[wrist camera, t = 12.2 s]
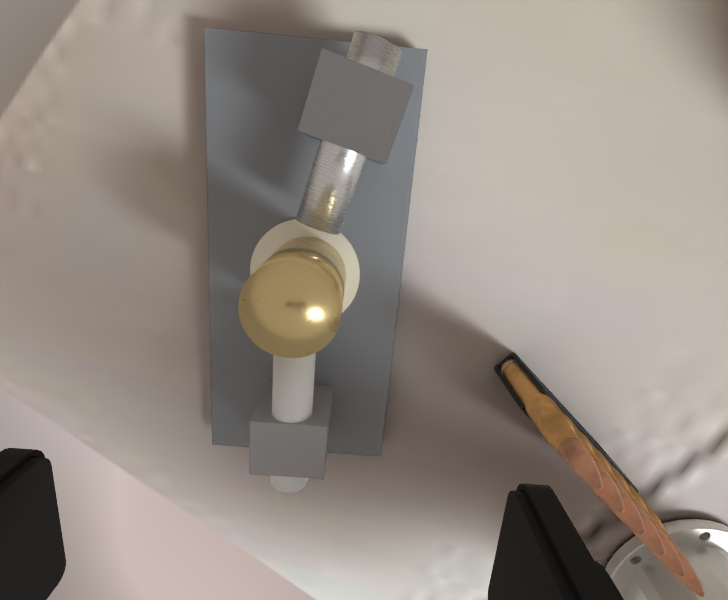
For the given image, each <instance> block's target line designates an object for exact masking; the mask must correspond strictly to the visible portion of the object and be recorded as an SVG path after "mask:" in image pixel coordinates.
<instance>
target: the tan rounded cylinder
mask: <svg viewBox="0 0 728 600" xmlns="http://www.w3.org/2000/svg"><path fill="white" fill-rule="evenodd" d="M345 284H346V268H345V264H344V262H343V259H342V257H341V256H340V254H339V253H338V251H337V250H336V249H335V248H334V247H333V246H332V245H330V244H329V243H327V242H326V241H324V240H321V239H319V238H315V237H298V238H294V239H291V240H289V241H287V242H285V243H284V244H283V245H281V246H280V247H279V248H278V249H277V250H276V251H275V252H274V253H273V254H272V255H271V256H270V257H269V258H268V259H267V260H266V261H265V262H264V263H263V264H262V265H261V266H260V267H259V268H258V269H257V270H256V271H255V272H254V273H253V274H252V275H251V276H250V277H249V278H248V280H247V281H246V282H245V284H244V286H243V288H242V290H241V293H240V296H239V301H238V313H239V318H240V322H241V324H242V327H243V329H244V331H245V332H246V334H247V335H248V337H249V338H250V339H251V340H252V341H253V342H254V343H255V344H256V345H257V346H258V347H260V348H261V349H262V350H264V351H266V352H268V353H270V354H272V355H275V356H279V357H283V358H302V357H306V356H309V355H312V354H314V353H316V352H318V351H320V350H321V349H323V348H324V347H325V346H326V345H327V344H329V342H330V341H331V340H332V339H333V337H334V336H335V334H336V333H337V330H338V328H339V325H340V321H341V315H342V307H343V299H344V291H345Z"/></svg>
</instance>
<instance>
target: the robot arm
mask: <svg viewBox="0 0 728 600" xmlns="http://www.w3.org/2000/svg"><path fill="white" fill-rule="evenodd" d="M662 525H663V526H664V528H665V530H666V531H667V533H668V534H669V535H670V537H671V538H672V539H673V540H674V543H675V544H676V545H677V546H678V548H679V549H680V550H681V551H682V553H683V554H684V555H685V557H686V558H687V559H688V561H689V562H690V564H691V565H692V567H693V569H694V570H695V572H696V574H697V576H698V578H699V580H700V582H701V584H702V587H703V590H704V594H705V595H704V597H701V596H699V595H697V594H695V593H694V592H692V591H691V590H690V589H688V588H687V587H686V586H685V585H684V584H683V583H681V582H680V581H679V580H678V579H677V578H676V577H675V576H674V575H673V574H672V573H671V572H670V571H669V569H668V568H667V567H666V566H665V565H664V564H663V563H662V562H661V561H660V560H659V559H658V558H657V557H656V556H655V555H654V554H653V553H652V552H651V551H650V550H649V549H648V547H647V546H646V545H645V544H644V543H643V542H642V541H641V540H640V539H639V538H638V537H637V536H634V537H633V538H631V539H630V540H629V541H627V542H626V543H625V544H624V545H623V546H622V547H621V548H620V549H619V550H618V551H616V552H615V554H614V555H613V557H612V558H611V559H610V561H609V562H608V564H607V566H606V568H605V569H604V567H603V566H602V565H601V564H599V563H598V562H597V561H594V559H593V558H592V556H591V554H590V553H589V551H588V549H587V548H586V546H585V544H584V542H583V541H582V539H581V537H580V536H579V534H578V532H577V531H576V529H575V527H574V525H573V524H572V522H571V520H570V519H569V517H568V515H567V514H566V512H565V510H564V508H563V507H562V505H561V503H560V502H559V500H558V498H557V496H556V495H555V493H554V491H553V490H552V489H551V487H549V486H547V485H532V484H519V486H518V487H517V490H516V491H510V492H509V494H508V498H507V502H506V507H505V512H504V517H503V522H502V526H501V531H500V536H499V541H498V546H497V551H496V555H495V560H494V565H493V570H492V575H491V579H490V584H489V589H488V600H728V526H726V525H724V524H721V523H717V522H714V521H710V520H701V519H685V520H676V521H671V522H666V523H663V524H662ZM65 566H66V558H65V552H64V546H63V539H62V532H61V525H60V519H59V513H58V506H57V499H56V493H55V486H54V479H53V472H52V466H51V462H50V460H49V459H46V458H45V456H44V454H43V453H42V452H41V451H39V450H32V449H18V448H8V449H4V450H3V451H1V452H0V600H46V599H47V598H48V597H49V595H50V594H51V593H52V591H53V590H54V589H55V587H56V586H57V585H58V583H59V582H60V580H61V578H62V576H63V573H64V571H65Z"/></svg>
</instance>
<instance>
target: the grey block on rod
mask: <svg viewBox="0 0 728 600" xmlns="http://www.w3.org/2000/svg"><path fill="white" fill-rule="evenodd" d="M401 55H402V51H401V50H400V49H399V48H398V47H397V46H396V45H394V44H393V43H391V42H390V41H388V40H386V39H384V38H382V37H379V36H377V35H374V34H371V33H368V32H363V31H356V32H354V34H353V38H352V41H351V44H350V47H349V50H348V54H347V57H344V56H341V55H339V54H336V53H334V52H331V51H329V50H326V49H324V48H322V50H321V53H320V57H319V60H318V63H317V67H316V70H315V73H314V77H313V80H312V83H311V87H310V90H309V94H308V97H307V100H306V104H305V107H304V110H303V114H302V117H301V121H300V124H299V127H298V130H299V131H300V132H302V133H304V134H305V135H307V136H309V137H311V138H313V139H316V140H318V141H320V143H319V146H318V150H317V153H316V156H315V159H314V162H313V166H312V169H311V172H310V175H309V178H308V182H307V185H306V188H305V191H304V194H303V198H302V201H301V204H300V207H299V210H298V214H297V217H296V220H297V221H298V222H300V223H302V224H304V225H306V226H308V227H311V228H313V229H316V230H319V231H322V232H325V233H329V234H334V235H339V234H340V232H341V229H342V226H343V223H344V220H345V217H346V214H347V211H348V208H349V206H350V203H351V200H352V197H353V194H354V191H355V188H356V185H357V182H358V180H359V177H360V174H361V171H362V168H363V165H364V162H365V159H368V160H371V161H373V162H376V163H379V164H381V165H383V164H387V161H388V158H389V155H390V152H391V150H392V147H393V144H394V141H395V139H396V136H397V133H398V130H399V127H400V125H401V122H402V119H403V116H404V114H405V111H406V108H407V105H408V102H409V100H410V97H411V94H412V91H413V89H414V86H415V85H413V84H410V83H408V82H405V81H403V80H400V79H398V78H395V77H394V75H395V72H396V70H397V67H398V64H399V61H400V58H401Z"/></svg>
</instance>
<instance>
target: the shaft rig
mask: <svg viewBox="0 0 728 600" xmlns="http://www.w3.org/2000/svg"><path fill="white" fill-rule="evenodd" d="M350 44H351V42H347V41H337V40H327V39H317V38H307V37H296V36H286V35H276V34H266V33H256V32H246V31H236V30H226V29H216V28H206V27H204V50H205V100H206V150H207V200H208V250H209V301H210V351H211V401H212V444H214V445H228V446H242V447H250V474H255V475H269V476H270V484H271V486H272V487H273V488H274V489H275V490H276V491H278V492H281V493H295V492H298V491H300V490H302V489H303V488H305V487H306V485H307V483H308V479H309V478H314V479H324V472H325V463H326V455H327V452H329V453H343V454H357V455H372V456H381V449H382V441H383V432H384V423H385V414H386V406H387V397H388V388H389V380H390V371H391V362H392V354H393V345H394V336H395V327H396V319H397V310H398V301H399V293H400V284H401V275H402V267H403V258H404V249H405V241H406V232H407V223H408V214H409V206H410V197H411V188H412V180H413V171H414V162H415V154H416V145H417V136H418V128H419V119H420V110H421V101H422V93H423V84H424V75H425V67H426V58H427V49H417V48H407V47H398V48H399V49H400V50H401V51H402V55H401V58H400V61H399V64H398V67H397V70H396V72H395V75H394V77H395V78H398V79H400V80H403V81H405V82H408V83H410V84H413V85H415V86H414V89H413V91H412V94H411V97H410V100H409V102H408V105H407V108H406V111H405V114H404V116H403V119H402V122H401V125H400V127H399V130H398V133H397V136H396V139H395V141H394V144H393V147H392V150H391V152H390V155H389V158H388V161H387V164H383V165H381V164H379V163H376V162H373V161H371V160H368V159H365V162H364V165H363V168H362V171H361V174H360V177H359V180H358V182H357V185H356V188H355V191H354V194H353V197H352V200H351V203H350V206H349V208H348V211H347V214H346V217H345V220H344V223H343V226H342V229H341V232H340V234H339V235H334V234H329V233H325V232H322V231H319V230H316V229H313V228H311V227H308V226H306V225H304V224H302V223H300V222H298V221H297V220H296V217H297V214H298V210H299V207H300V204H301V201H302V198H303V194H304V191H305V188H306V185H307V182H308V178H309V175H310V172H311V169H312V166H313V162H314V159H315V156H316V153H317V150H318V146H319V143H320V141H318V140H316V139H313V138H311V137H309V136H307V135H305V134H304V133H302V132H300V131H299V130H298V127H299V124H300V121H301V117H302V114H303V110H304V107H305V104H306V100H307V97H308V94H309V90H310V87H311V83H312V80H313V77H314V73H315V70H316V67H317V63H318V60H319V57H320V53H321V50H322V48H324V49H326V50H329V51H331V52H334V53H336V54H339V55H341V56H344V57H347V54H348V50H349V47H350ZM298 237H315V238H319V239H321V240H324V241H326V242H327V243H329V244H330V245H332V246H333V247H334V248H335V249H336V250H337V251H338V253H339V254H340V256H341V257H342V259H343V262H344V264H345V268H346V284H345V291H344V299H343V307H342V315H341V321H340V325H339V328H338V330H337V333H336V334H335V336H334V337H333V339H332V340H331V341H330V342H329V344H327V345H326V346H325V347H324V348H323V349H321V350H320V351H318V352H316V353H314V354H312V355H309V356H306V357H302V358H283V357H279V356H275V355H272V354H270V353H268V352H266V351H264V350H262V349H261V348H260V347H258V346H257V345H256V344H255V343H254V342H253V341H252V340H251V339H250V338H249V337H248V335H247V334H246V332H245V331H244V329H243V327H242V324H241V322H240V318H239V313H238V301H239V296H240V293H241V290H242V288H243V286H244V284H245V282H246V281H247V280H248V278H249V277H250V276H251V275H252V274H253V273H254V272H255V271H256V270H257V269H258V268H259V267H260V266H261V265H262V264H263V263H264V262H265V261H266V260H267V259H268V258H269V257H270V256H271V255H272V254H273V253H274V252H275V251H276V250H277V249H278V248H279V247H280V246H281V245H283V244H284V243H285V242H287V241H289V240H291V239H294V238H298Z"/></svg>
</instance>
